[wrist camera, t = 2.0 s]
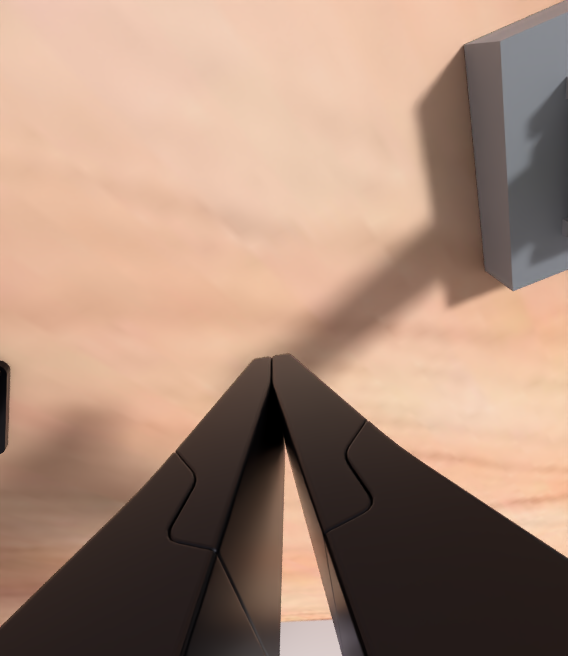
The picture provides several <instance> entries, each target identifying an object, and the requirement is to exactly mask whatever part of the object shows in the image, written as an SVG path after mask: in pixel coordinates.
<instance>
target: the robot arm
mask: <svg viewBox="0 0 568 656" xmlns="http://www.w3.org/2000/svg"><path fill="white" fill-rule="evenodd" d="M0 371H1V372H0V454H1V453H3V452H4V451H5V449H6V447H7V445H8V423H9V393H10V367H9V365H8V364H7V363H5V362H4V361H0ZM284 440H285V441H284ZM285 445H286V449H287V453H288V457H289V461H290V465H291V468H292V472H293V476H294V479H295V483H296V487H297V490H298V494H299V498H300V502H301V505H302V509H303V513H304V516H305V520H306V524H307V527H308V531H309V535H310V538H311V542H312V546H313V549H314V553H315V557H316V560H317V564H318V568H319V572H320V575H321V579H322V583H323V586H324V590H325V594H326V597H327V601H328V605H329V608H330V612H331V616H332V619H333V623H334V627H335V630H336V634H337V638H338V641H339V645H340V649H341V652H342V656H568V558H567V557H565V556H564V555H562V554H561V553H559V552H558V551H556V550H555V549H553V548H552V547H550V546H549V545H547V544H546V543H544V542H543V541H541V540H540V539H538V538H537V537H535V536H534V535H532V534H530V533H529V532H527V531H526V530H524V529H523V528H521V527H520V526H518V525H517V524H515V523H514V522H512V521H511V520H509V519H508V518H506V517H505V516H503V515H502V514H500V513H499V512H497V511H496V510H494V509H493V508H491V507H490V506H488V505H487V504H485V503H484V502H482V501H481V500H479V499H478V498H476V497H474V496H473V495H471V494H470V493H468V492H467V491H465V490H464V489H462V488H461V487H459V486H458V485H456V484H455V483H453V482H452V481H450V480H449V479H447V478H446V477H444V476H443V475H441V474H440V473H438V472H437V471H435V470H434V469H432V468H431V467H429V466H428V465H426V464H425V463H423V462H422V461H420V460H419V459H417V458H416V457H414V456H413V455H412V454H410V453H409V452H407V451H406V450H404V449H403V448H402V447H400V446H399V445H398V444H396V443H395V442H394V441H393V440H391V439H390V438H389V437H388V436H386V435H385V434H384V433H383V432H381V431H380V430H379V429H378V428H377V427H376V426H374V425H373V424H372V423H371V422H370V421H367V419H365V418H364V417H363V416H362V415H361V414H360V413H358V412H357V411H356V410H355V409H354V408H353V407H351V406H350V405H349V404H348V403H347V402H346V401H345V400H343V399H342V398H341V397H340V396H339V395H338V394H336V393H335V392H334V391H333V390H332V389H331V388H329V387H328V386H327V385H326V384H325V383H324V382H323V381H321V380H320V379H319V378H318V377H317V376H316V375H314V374H313V373H312V372H311V371H310V370H309V369H307V368H306V367H305V366H304V365H303V364H302V363H300V362H299V361H298V360H297V359H296V358H295V357H294V356H292V355H291V354H289V353H287V354H281V355H275V356H273V358H271V357H263V358H256V359H254V360H252V362H251V363H250V364H249V365H248V366H247V367H246V369H245V370H244V371H243V372H242V373H241V374H240V376H239V377H238V378H237V379H236V380H235V382H234V383H233V384H232V385H231V386H230V387H229V389H228V390H227V391H226V392H225V393H224V394H223V396H222V397H221V398H220V399H219V400H218V401H217V403H216V404H215V405H214V406H213V407H212V409H211V410H210V411H209V412H208V413H207V414H206V416H205V417H204V418H203V419H202V420H201V421H200V423H199V424H198V425H197V426H196V427H195V429H194V430H193V431H192V432H191V433H190V434H189V436H188V437H187V438H186V439H185V440H184V441H183V443H182V444H181V445H180V446H179V447H178V448H177V450H176V453H172V455H171V456H170V457H169V458H168V459H167V460H166V462H165V463H164V464H163V465H162V466H161V467H160V468H159V470H158V471H157V472H156V473H155V474H154V475H153V476H152V477H151V478H150V480H149V481H148V482H147V483H146V484H145V485H144V486H143V487H142V488H141V489H140V490H139V491H138V492H137V493H136V494H135V495H134V496H133V497H132V498H131V500H130V501H129V502H128V503H127V504H126V505H125V506H124V507H123V508H122V509H121V510H120V511H119V512H118V513H117V514H116V515H115V516H114V517H113V518H112V519H110V520H109V521H108V522H107V523H106V524H105V525H104V526H103V527H102V528H101V529H100V530H99V531H98V532H97V533H96V534H95V535H94V536H93V537H92V538H91V539H90V540H89V541H88V542H87V543H86V544H85V545H84V546H83V547H82V548H81V549H80V550H79V551H78V552H77V553H76V554H75V555H74V556H73V557H72V558H71V559H70V560H68V561H67V562H66V563H65V564H64V565H63V566H62V567H61V568H60V569H59V570H58V571H57V572H56V573H55V574H54V575H53V576H52V577H51V578H50V579H49V580H48V581H47V582H46V583H45V584H44V585H43V586H42V587H41V588H40V589H39V590H38V591H37V592H36V593H35V594H34V595H33V596H32V597H31V598H30V599H29V600H28V601H26V602H25V603H24V604H23V605H22V606H21V607H20V608H19V609H18V610H17V611H16V612H15V613H14V614H13V615H12V616H11V617H10V618H9V619H8V620H7V621H6V622H5V623H4V624H3V625H2V626H1V627H0V656H279V655H280V619H281V583H282V547H283V511H284V475H285Z"/></svg>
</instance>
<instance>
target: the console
mask: <svg viewBox="0 0 568 656" xmlns="http://www.w3.org/2000/svg"><path fill="white" fill-rule="evenodd" d="M464 52H465V63H466V73H467V84H468V95H469V105H470V116H471V127H472V137H473V148H474V159H475V169H476V180H477V191H478V202H479V212H480V223H481V234H482V244H483V255H484V266H485V271H486V272H487V273H489V274H490V275H491V276H493V277H494V278H496V279H497V280H498V281H500V282H501V283H502V284H504V285H505V286H507V287H508V288H509V289H511V290H512V291H515V290H517V289H520V288H522V287H525V286H527V285H530V284H532V283H535V282H537V281H540V280H543V279H545V278H548V277H550V276H553V275H555V274H558V273H560V272H563V271H565V270H568V0H565V1H562V2H560V3H558V4H555V5H553V6H551V7H549V8H546V9H544V10H542V11H539V12H537V13H535V14H533V15H530V16H528V17H526V18H523V19H521V20H519V21H517V22H514V23H512V24H510V25H507V26H505V27H503V28H501V29H498V30H496V31H494V32H491V33H489V34H487V35H485V36H482V37H480V38H478V39H475V40H473V41H471V42H469V43H466V44H464Z"/></svg>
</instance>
